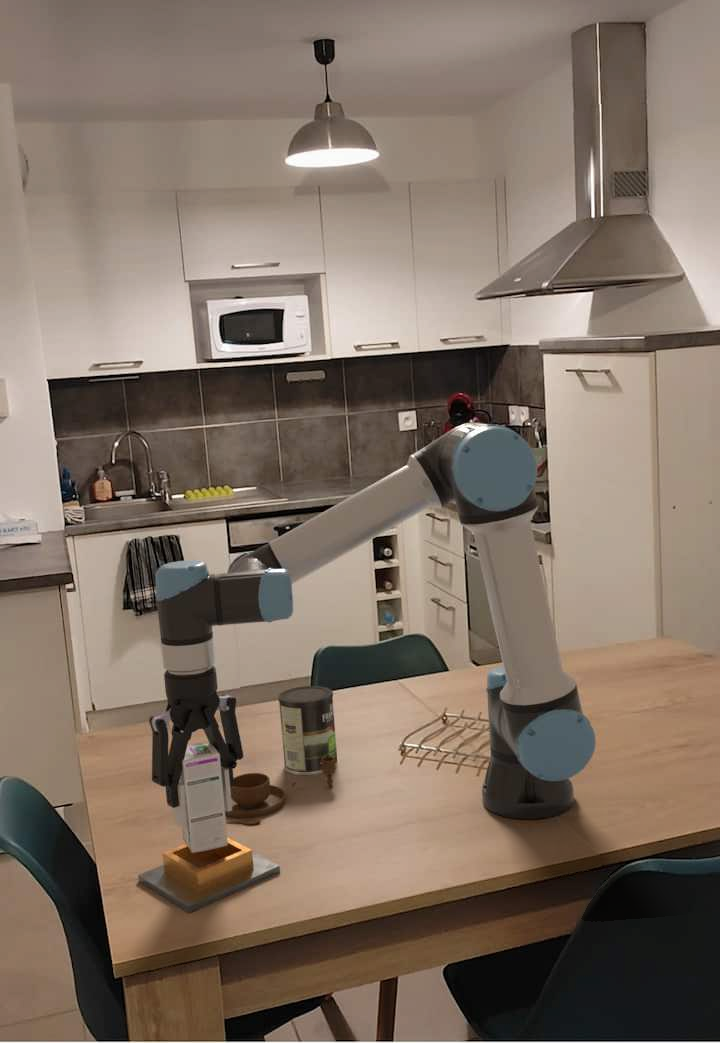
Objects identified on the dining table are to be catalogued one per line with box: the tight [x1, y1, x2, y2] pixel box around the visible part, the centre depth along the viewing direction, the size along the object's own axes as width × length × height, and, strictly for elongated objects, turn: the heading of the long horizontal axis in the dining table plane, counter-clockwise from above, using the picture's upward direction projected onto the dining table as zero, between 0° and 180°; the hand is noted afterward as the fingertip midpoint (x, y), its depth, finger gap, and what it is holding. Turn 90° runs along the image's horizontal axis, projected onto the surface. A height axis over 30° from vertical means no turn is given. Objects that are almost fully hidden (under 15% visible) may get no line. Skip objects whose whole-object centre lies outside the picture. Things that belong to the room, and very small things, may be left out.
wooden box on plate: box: [137, 836, 281, 914], centre depth 159 cm, size 14×16×4 cm
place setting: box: [225, 757, 336, 826], centre depth 185 cm, size 18×20×6 cm
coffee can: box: [277, 685, 339, 776], centre depth 200 cm, size 10×10×14 cm
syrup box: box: [179, 741, 228, 853], centre depth 158 cm, size 6×6×14 cm
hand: (203, 816), depth 158 cm, fingers closed on syrup box, 7 cm apart
